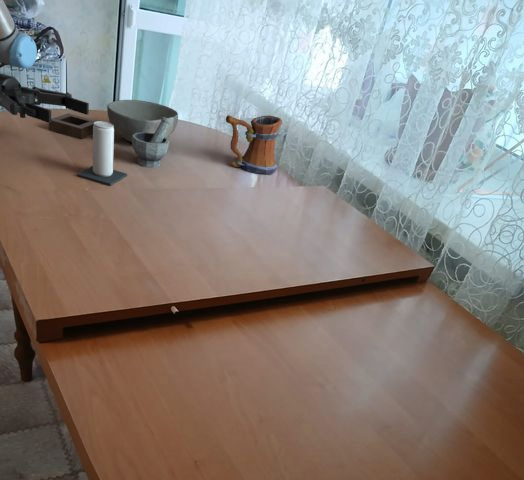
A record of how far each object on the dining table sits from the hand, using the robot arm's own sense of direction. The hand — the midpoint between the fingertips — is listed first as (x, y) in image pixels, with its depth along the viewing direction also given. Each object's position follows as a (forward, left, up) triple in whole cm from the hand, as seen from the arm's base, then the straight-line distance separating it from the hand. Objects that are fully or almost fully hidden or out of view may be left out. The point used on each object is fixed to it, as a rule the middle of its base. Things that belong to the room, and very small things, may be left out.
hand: (69, 112), depth 131 cm
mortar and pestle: (+15, +17, -13) cm, 26 cm away
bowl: (+5, +31, -13) cm, 34 cm away
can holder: (-13, +25, -13) cm, 31 cm away
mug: (+37, +35, -13) cm, 53 cm away
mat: (+10, -1, -13) cm, 16 cm away
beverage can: (+10, -1, -12) cm, 16 cm away
